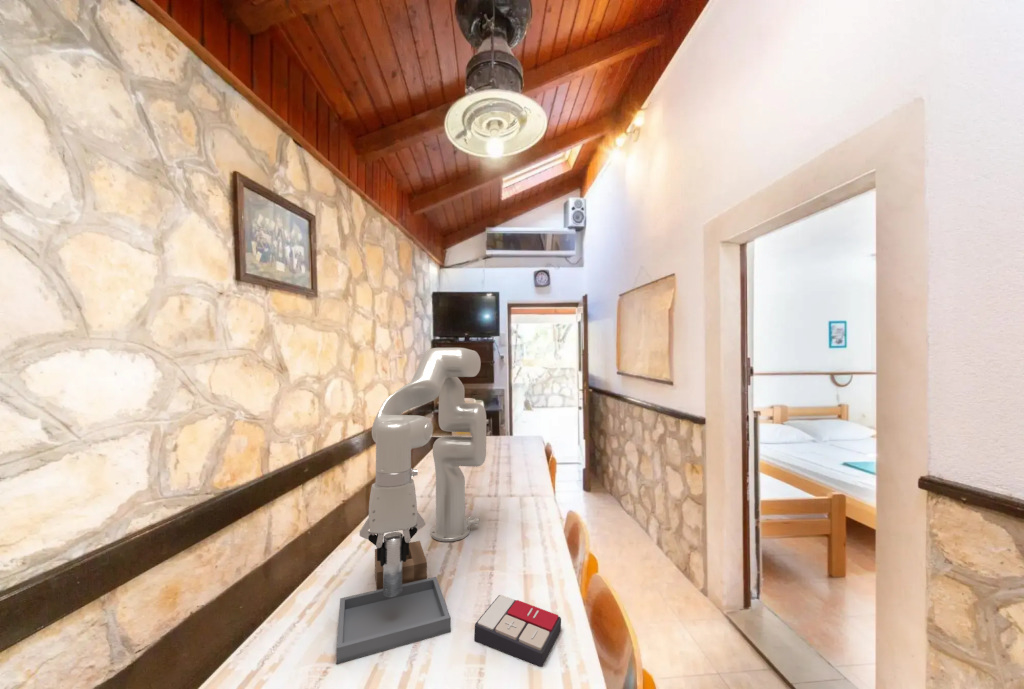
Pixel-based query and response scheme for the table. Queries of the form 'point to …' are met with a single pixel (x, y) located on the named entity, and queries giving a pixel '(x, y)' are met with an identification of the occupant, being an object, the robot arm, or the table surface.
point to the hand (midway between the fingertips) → (393, 560)
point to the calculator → (518, 630)
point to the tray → (390, 619)
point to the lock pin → (392, 564)
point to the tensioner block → (406, 566)
